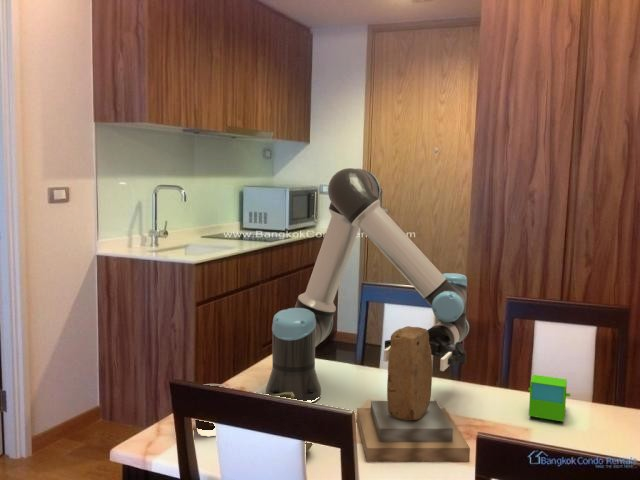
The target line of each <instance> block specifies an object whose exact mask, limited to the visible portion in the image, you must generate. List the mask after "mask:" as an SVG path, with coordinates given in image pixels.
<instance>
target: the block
mask: <svg viewBox="0 0 640 480" xmlns="http://www.w3.org/2000/svg"><path fill="white" fill-rule="evenodd" d="M427 330H428V329H427V328H423V327H419V326H409V325H407V326H405V327H403V328H402V327H401V328H398V329H397V330H395V331H394V332H393V333H392V334H391V335H390V340H391V347H390V349H389V359H388V361H387V363H388V364H387V381H386V382H387V383H386V385H387V387H386V390H387V391H386V396H387V398H386V399H387V400H386V401H387V404H388V412H389V414H390V415H391V416H394V417H395V418H398V419H401V420H405V421H406V420H418V419H420V418H422V417H423V416H424V414H425V412H426V410H427V408H428V406H429V403H430V401H431V398H432V397H431V396H432V387H433V386H432V384H433V383H432V381H433V357H432V356H433V355H431V349H430V345H429V333H428V331H427Z"/></svg>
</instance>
